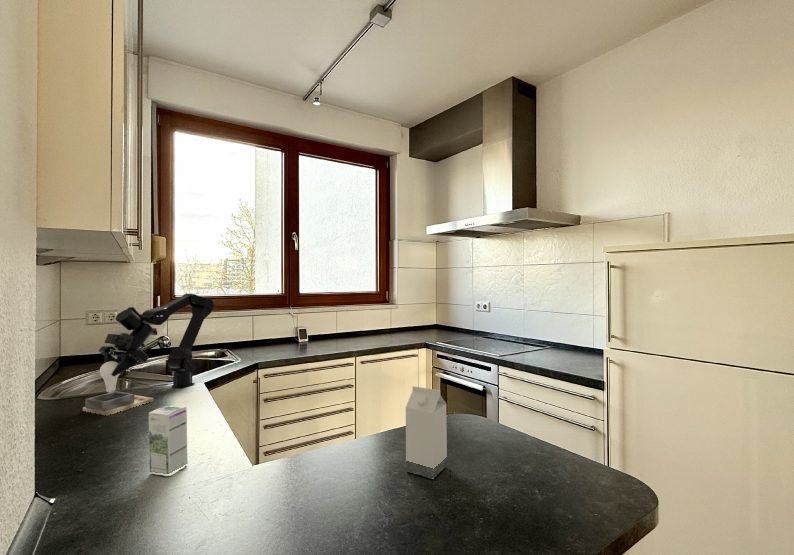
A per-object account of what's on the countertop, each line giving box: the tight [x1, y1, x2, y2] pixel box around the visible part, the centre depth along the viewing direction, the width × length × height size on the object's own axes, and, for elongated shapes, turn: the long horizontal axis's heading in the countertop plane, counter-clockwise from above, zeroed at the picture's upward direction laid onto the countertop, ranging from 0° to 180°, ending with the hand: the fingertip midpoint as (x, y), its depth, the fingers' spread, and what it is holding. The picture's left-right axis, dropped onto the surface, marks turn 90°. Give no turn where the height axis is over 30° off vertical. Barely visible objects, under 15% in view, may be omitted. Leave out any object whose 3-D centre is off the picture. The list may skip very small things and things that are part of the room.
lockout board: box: [82, 390, 154, 417], centre depth 138 cm, size 16×13×4 cm
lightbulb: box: [99, 361, 120, 393], centre depth 135 cm, size 6×6×11 cm
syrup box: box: [148, 405, 189, 474], centre depth 91 cm, size 6×6×14 cm
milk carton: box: [405, 385, 448, 469], centre depth 90 cm, size 7×7×19 cm
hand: (106, 375), depth 134 cm, fingers closed on lightbulb, 6 cm apart
